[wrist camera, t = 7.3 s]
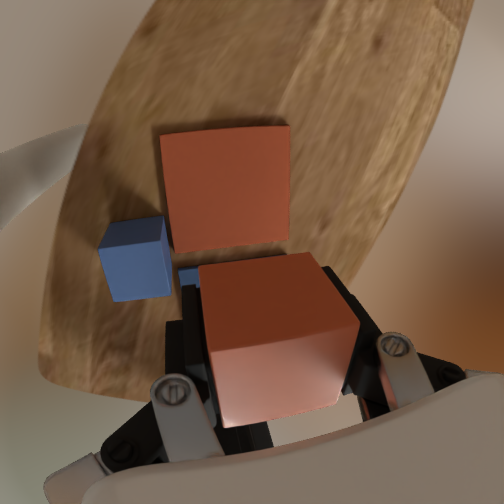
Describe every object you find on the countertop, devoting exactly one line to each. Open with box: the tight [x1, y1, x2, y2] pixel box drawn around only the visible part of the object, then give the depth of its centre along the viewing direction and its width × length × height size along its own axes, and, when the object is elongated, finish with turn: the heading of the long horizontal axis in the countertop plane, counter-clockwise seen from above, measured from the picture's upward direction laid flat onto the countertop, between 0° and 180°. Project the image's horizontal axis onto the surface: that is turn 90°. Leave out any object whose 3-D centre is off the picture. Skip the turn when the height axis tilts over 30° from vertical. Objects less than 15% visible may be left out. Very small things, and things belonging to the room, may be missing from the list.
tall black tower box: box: [213, 414, 274, 456], centre depth 21 cm, size 8×6×25 cm
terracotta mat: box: [159, 125, 290, 254], centre depth 22 cm, size 9×9×1 cm
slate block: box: [98, 216, 172, 302], centre depth 21 cm, size 4×4×4 cm
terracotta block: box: [198, 252, 360, 428], centre depth 10 cm, size 4×4×4 cm
